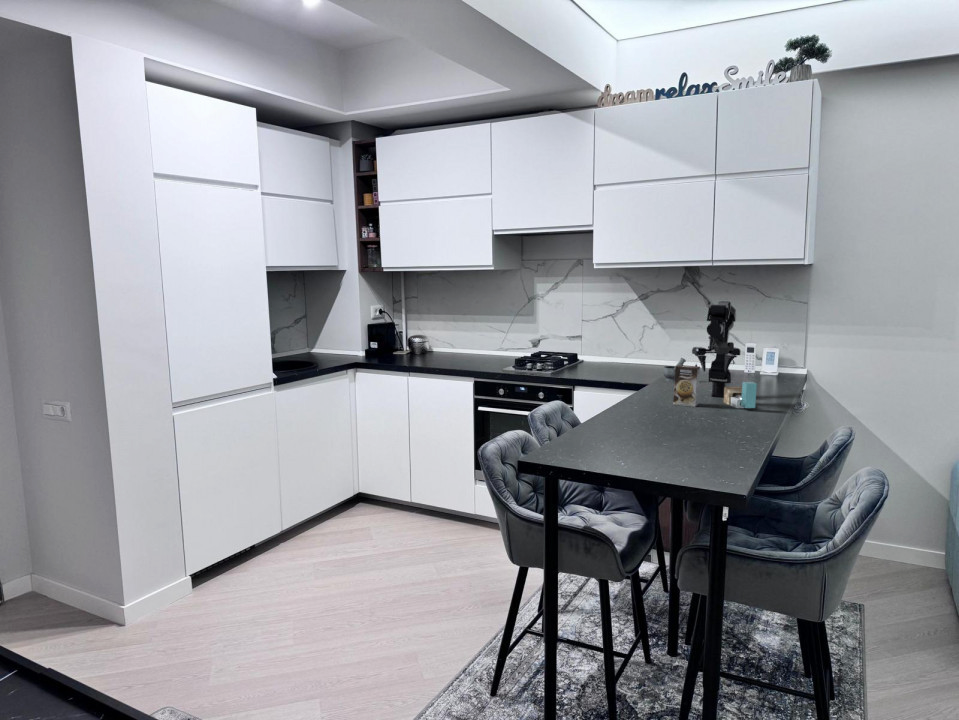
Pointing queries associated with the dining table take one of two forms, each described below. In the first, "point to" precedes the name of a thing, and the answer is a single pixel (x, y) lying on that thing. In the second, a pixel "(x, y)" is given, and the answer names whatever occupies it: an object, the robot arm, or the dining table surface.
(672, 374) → the mortar and pestle
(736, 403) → the white notched block
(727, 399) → the socket
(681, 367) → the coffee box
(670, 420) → the dining table surface
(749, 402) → the teal and silver mallet
